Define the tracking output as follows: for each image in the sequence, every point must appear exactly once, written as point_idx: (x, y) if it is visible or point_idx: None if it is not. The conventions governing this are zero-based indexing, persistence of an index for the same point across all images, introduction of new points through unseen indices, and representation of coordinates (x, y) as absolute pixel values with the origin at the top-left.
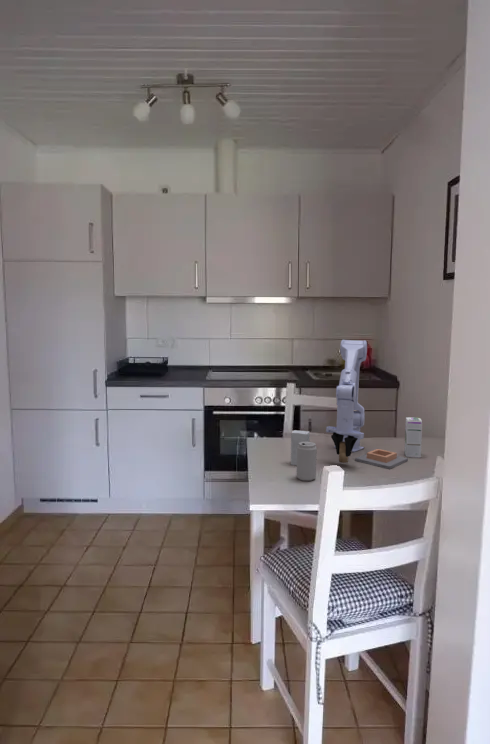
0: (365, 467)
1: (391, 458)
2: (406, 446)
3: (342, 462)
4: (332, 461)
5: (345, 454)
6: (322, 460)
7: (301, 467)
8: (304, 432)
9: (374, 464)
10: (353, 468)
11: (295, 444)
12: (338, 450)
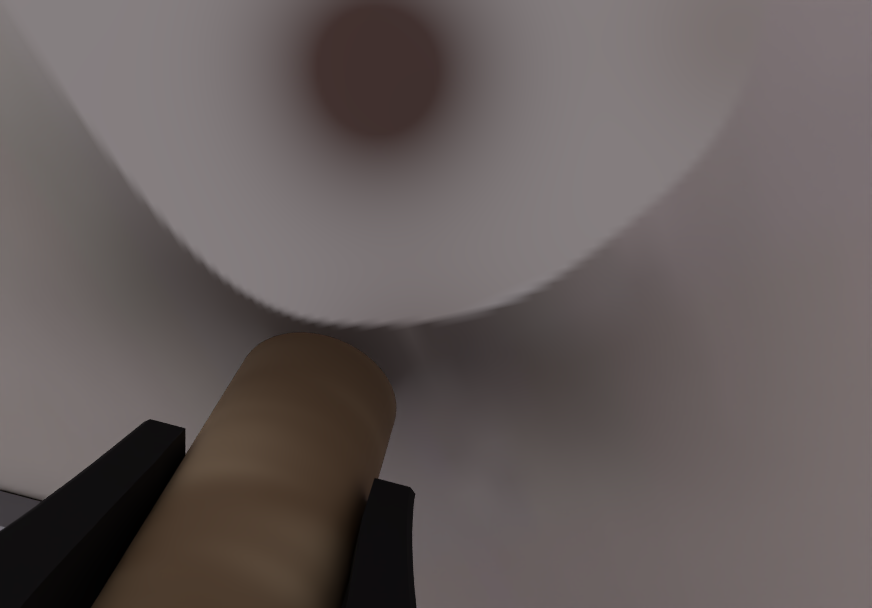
0: (49, 397)
1: None
2: None
3: (294, 334)
4: (563, 456)
5: (185, 466)
6: (737, 444)
7: None
8: None
9: (15, 507)
10: (138, 288)
11: None
12: (355, 559)
